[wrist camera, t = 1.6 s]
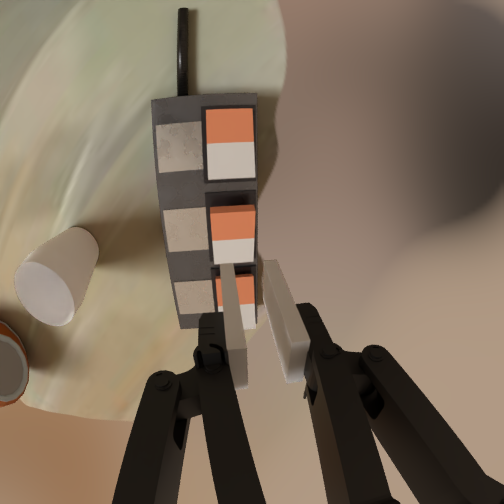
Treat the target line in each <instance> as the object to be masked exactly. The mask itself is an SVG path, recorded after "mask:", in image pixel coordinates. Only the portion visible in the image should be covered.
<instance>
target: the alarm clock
mask: <svg viewBox="0 0 504 504" xmlns="http://www.w3.org/2000/svg"><path fill="white" fill-rule="evenodd" d="M28 381H29V364H28V359H27V354H26V350H25V348H24V346H23V344H22V342H21V340H20V338H19V336H18V335H17V334H16V333H15V332H14V331H13V330H12V329H11V328H10V327H9V326H8V325H7V324H6V323H4V322H2V321H0V407H3V406H6V405H9V404H12V403H15V402H16V401H17V400H18V399H19V398H20V397H21V396H22V395H23V394H24V392H25V389H26V386H27V384H28Z"/></svg>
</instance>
